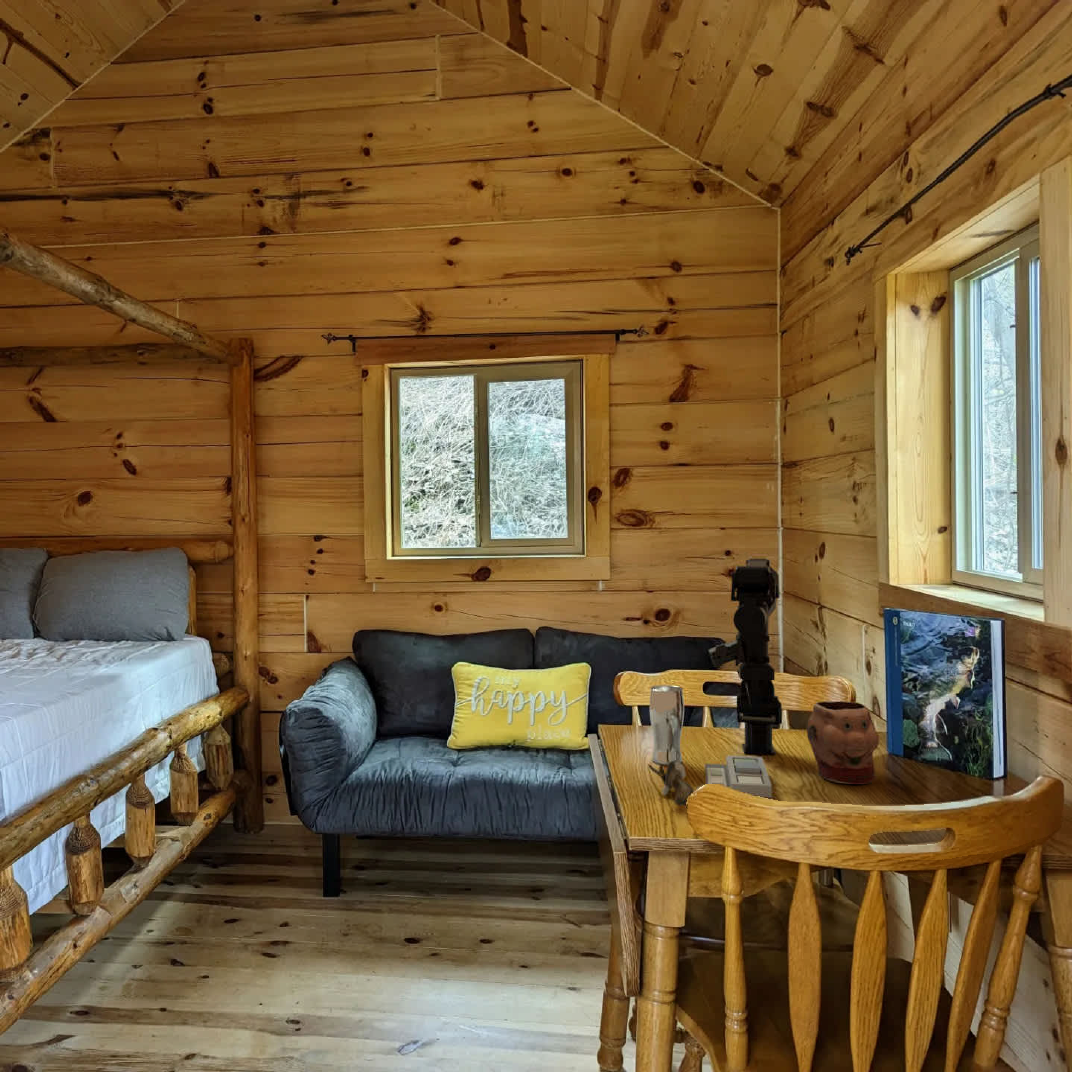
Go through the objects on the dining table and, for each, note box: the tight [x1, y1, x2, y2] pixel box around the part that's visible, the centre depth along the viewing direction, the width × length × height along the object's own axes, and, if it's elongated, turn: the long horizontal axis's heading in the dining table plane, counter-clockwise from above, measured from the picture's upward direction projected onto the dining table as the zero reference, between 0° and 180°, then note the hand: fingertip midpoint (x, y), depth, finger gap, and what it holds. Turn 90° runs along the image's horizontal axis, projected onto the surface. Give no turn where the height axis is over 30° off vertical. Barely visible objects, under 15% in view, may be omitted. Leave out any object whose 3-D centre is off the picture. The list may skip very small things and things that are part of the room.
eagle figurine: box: [648, 762, 695, 806], centre depth 137 cm, size 8×7×9 cm
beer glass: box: [649, 684, 685, 766], centre depth 158 cm, size 7×7×15 cm
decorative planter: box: [806, 700, 880, 785], centre depth 148 cm, size 20×12×14 cm, turn 3°
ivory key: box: [738, 776, 763, 784], centre depth 136 cm, size 4×4×2 cm
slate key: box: [736, 761, 760, 774], centre depth 142 cm, size 4×4×2 cm
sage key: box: [734, 759, 756, 764], centre depth 147 cm, size 4×4×2 cm
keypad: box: [704, 755, 774, 800], centre depth 142 cm, size 19×11×3 cm, turn 169°
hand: (753, 708), depth 152 cm, fingers closed
